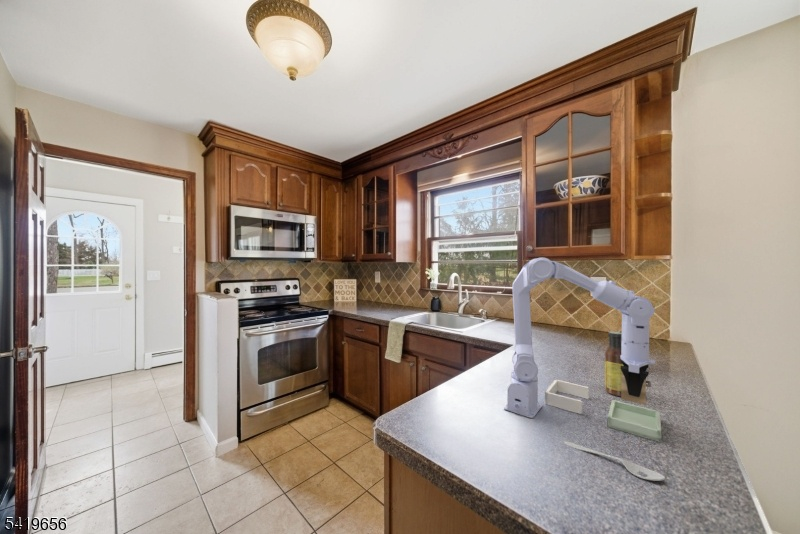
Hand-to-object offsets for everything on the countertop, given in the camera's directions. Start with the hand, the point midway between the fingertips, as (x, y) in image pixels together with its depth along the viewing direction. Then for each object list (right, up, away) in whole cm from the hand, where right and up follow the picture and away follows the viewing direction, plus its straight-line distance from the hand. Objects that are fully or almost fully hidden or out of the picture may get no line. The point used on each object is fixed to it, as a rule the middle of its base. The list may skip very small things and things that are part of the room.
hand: (634, 392), depth 77 cm
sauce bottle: (+9, -8, +19) cm, 22 cm away
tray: (0, -8, 0) cm, 8 cm away
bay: (-10, -8, +13) cm, 18 cm away
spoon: (-18, -9, -14) cm, 24 cm away
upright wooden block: (0, -2, 0) cm, 2 cm away
